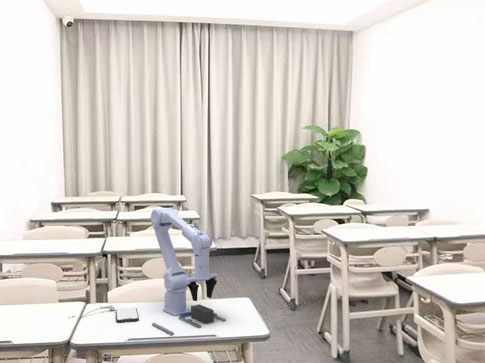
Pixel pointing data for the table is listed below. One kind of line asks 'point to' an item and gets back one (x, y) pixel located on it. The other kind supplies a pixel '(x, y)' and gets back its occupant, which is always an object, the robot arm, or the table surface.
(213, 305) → the table surface
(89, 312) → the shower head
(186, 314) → the silver and blue frame
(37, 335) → the table surface
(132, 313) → the phone case
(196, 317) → the dark grey block
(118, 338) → the table surface
